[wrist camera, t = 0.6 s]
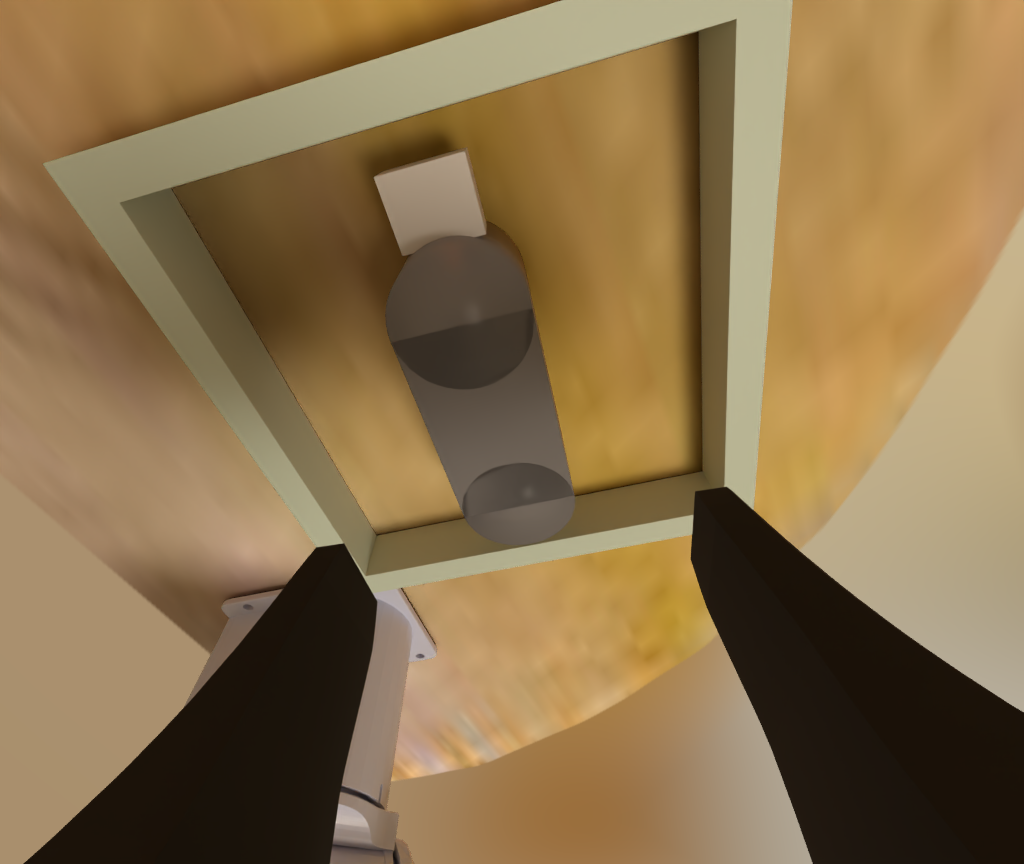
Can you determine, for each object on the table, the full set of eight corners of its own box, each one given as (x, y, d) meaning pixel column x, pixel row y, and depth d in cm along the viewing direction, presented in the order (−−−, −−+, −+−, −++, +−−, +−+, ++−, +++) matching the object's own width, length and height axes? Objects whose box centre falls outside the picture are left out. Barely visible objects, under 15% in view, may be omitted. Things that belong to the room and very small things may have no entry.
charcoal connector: (481, 484, 21) (479, 553, 18) (366, 172, 14) (328, 194, 11) (568, 466, 21) (582, 534, 18) (495, 135, 14) (496, 146, 10)
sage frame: (363, 556, 24) (351, 597, 22) (107, 154, 14) (42, 163, 12) (729, 485, 22) (752, 523, 20) (747, -45, 12) (798, -74, 10)
